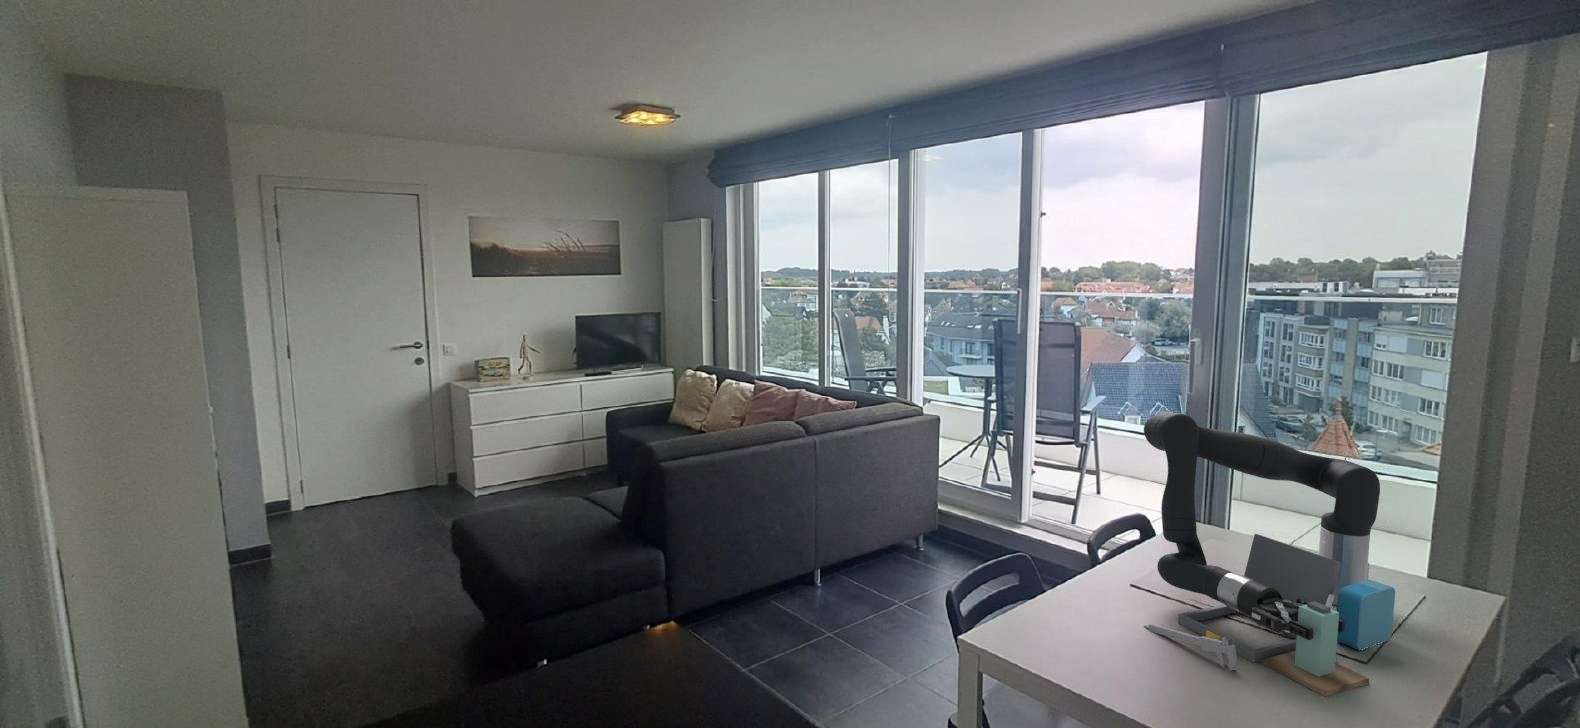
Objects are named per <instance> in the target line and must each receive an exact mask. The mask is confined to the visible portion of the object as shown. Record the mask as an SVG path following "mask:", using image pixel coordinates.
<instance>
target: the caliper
mask: <svg viewBox="0 0 1580 728" xmlns="http://www.w3.org/2000/svg"><path fill="white" fill-rule="evenodd" d="M1143 627H1144V628H1146V629H1148V630H1149V631H1151V632H1153V633H1155V634H1158V635H1162V636H1165V637H1169V638H1172V639H1176V640H1178V641H1182V642H1185V643H1189V644H1192V645H1194V646H1195V645H1196V646H1198V647H1200V651H1203V652H1205V651H1206V652H1207V653H1215V654H1216V656H1217V658H1218V661H1219V663H1220V666H1221V667H1223V668H1227V667H1228V665H1229V670H1230V672H1231V671H1235V670H1236V669H1237V663H1238V662H1237V658H1238V654H1237V653H1236V649H1235V645H1232V642H1231V639H1232V638H1231V639H1228V640H1227V639H1226V638H1225V637H1223V638H1221V640H1222V641H1219V640H1216V639H1212V638H1208V637H1204V636H1202V635H1200V636H1197V635H1194V634H1189V633H1186V632H1184V631H1183V632H1182V631H1180V630H1176V629H1174V628H1173V629H1172V628H1169V627H1165V626H1163V625H1160V624H1159V625H1158V624H1155V623H1149V624H1145V625H1143Z"/></svg>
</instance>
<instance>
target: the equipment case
mask: <svg viewBox="0 0 1580 728" xmlns="http://www.w3.org/2000/svg"><path fill="white" fill-rule="evenodd" d="M1252 539H1253V540H1252V542H1251V548H1250V551H1249V555H1248V559H1247V563H1246V566H1245V570H1244V574H1243V576H1246V577H1248V578H1251V579H1253V580H1256V581H1258V582H1261V583H1263V584H1265V585H1268V586H1270V587H1273V588H1275V589H1276V590H1277V591H1278V592H1279V593H1280V595H1281V597H1282V598H1283V599H1284V600H1290V601H1293V602H1296V598H1302V599H1305V600H1307V601H1310V602H1314V601H1315V602H1318V603H1320V604H1323V605H1325V606H1328V607H1330V608H1331V609H1332V606H1333V600H1334V595H1333V593H1334V589H1335V585H1336V582H1337V578H1338V574H1339V570H1340V566H1341V562H1338V561H1335V560H1332V559H1329V558H1326V557H1324V556H1321V555H1319V553H1318V554H1317V553H1314V552H1312V551H1308V550H1305V549H1303V548H1300V547H1296V546H1294V545H1290V544H1288V543H1286V542H1282V541H1279V540H1276V539H1273V538H1271V537H1268V536H1264V535H1262V534H1259V533H1254V535H1253V538H1252ZM1234 612H1235V613H1234ZM1236 612H1237V613H1239V612H1238V611H1236V610H1234V609H1232V608H1230V607H1228V606H1227V605H1225V604H1219V605H1215V606H1211V607H1206V608H1201V609H1196V610H1194V611H1192V610H1191V611H1187V612H1184V613H1183V612H1182V613H1178V617H1177V618H1178V619H1177V620H1178V621H1177V623H1178V624H1180V625H1181V626H1183V627H1185V628H1187V629H1189V630H1191V631H1192V632H1195V633H1196V632H1197V634H1199V635H1200V636H1204V637H1208V638H1212V639H1216V640H1219V641H1222V640H1221V638H1223V637H1225V638H1226V639H1227V640H1228V639H1231V642H1232V645H1235V649H1236V654H1237V655H1239V656H1241V657H1242V658H1245V659H1247V660H1249V661H1251V662H1252V663H1258V662H1261V661H1262V662H1263V659H1266V658H1270V657H1274V656H1277V655H1281V654H1285V653H1289V652H1293V651H1296V640H1297V635H1296V634H1294V633H1292V632H1290V633H1288V632H1284V631H1283V630H1281V633H1282V634H1284V633H1285V634H1284V635H1286V634H1287V636H1288V635H1289V637H1290V638H1293V637H1294V638H1293V639H1291V640H1287V641H1283V642H1279V643H1278V642H1277V643H1275V644H1271V645H1267V646H1264V647H1259V648H1255V649H1253V648H1251V647H1249V646H1247V645H1246V644H1243V643H1241V642H1239V641H1237V640H1235V639H1234V638H1231V637H1229V636H1228V635H1225V634H1223V633H1221V632H1219V631H1217V630H1215V629H1213V628H1212V627H1209V626H1208V625H1206V624H1203V623H1202V622H1201V621H1205V620H1209V619H1213V618H1217V617H1218V618H1219V617H1223V615H1224V616H1227V615H1226V614H1228V615H1230V614H1229V613H1232V614H1237V613H1236ZM1245 617H1247V615H1246V616H1245ZM1247 618H1249V616H1248V617H1247ZM1250 619H1252V618H1251V617H1250ZM1271 624H1272V625H1273V626H1274V621H1271Z"/></svg>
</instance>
